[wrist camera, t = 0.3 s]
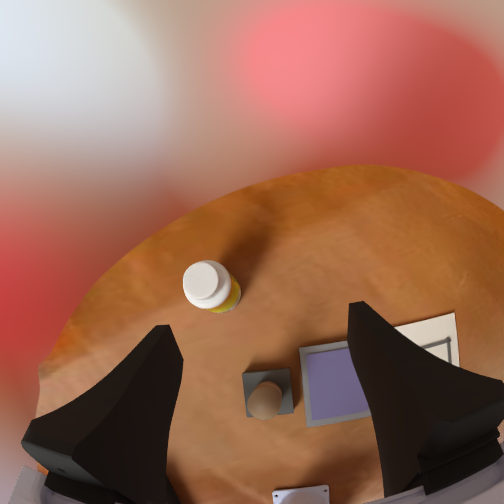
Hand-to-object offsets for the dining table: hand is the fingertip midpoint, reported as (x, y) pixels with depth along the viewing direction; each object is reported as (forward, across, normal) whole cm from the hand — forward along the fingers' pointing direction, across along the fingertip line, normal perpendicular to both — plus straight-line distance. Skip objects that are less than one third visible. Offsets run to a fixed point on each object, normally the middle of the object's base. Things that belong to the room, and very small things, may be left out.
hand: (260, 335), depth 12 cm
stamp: (+16, +2, +24) cm, 29 cm away
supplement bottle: (+26, +7, +14) cm, 30 cm away
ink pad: (+16, -7, +24) cm, 30 cm away
